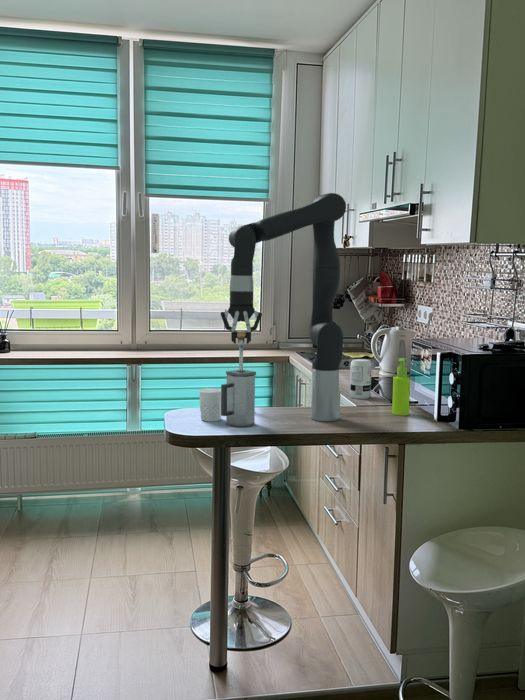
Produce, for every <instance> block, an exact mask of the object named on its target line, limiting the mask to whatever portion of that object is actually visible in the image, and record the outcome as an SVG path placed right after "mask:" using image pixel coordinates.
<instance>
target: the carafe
mask: <svg viewBox="0 0 525 700" xmlns="http://www.w3.org/2000/svg"><path fill="white" fill-rule="evenodd" d="M225 375H226V383H224V384H221V387H220V389H221V417H225V418H226V422H225V423H226V426H227V427H230V428H238V429H239V428H241V429H243V428H250V427H254V426H255V417H256V416H255V414H256V410H255V406H256V404H255V403H256V401H255V400H256V399H255V396H256V395H255V394H256V376H257V371H253V370H248V369H243V372H239V369H234V370H227V371H225Z"/></svg>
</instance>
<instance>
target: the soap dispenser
mask: <svg viewBox="0 0 525 700" xmlns="http://www.w3.org/2000/svg"><path fill="white" fill-rule="evenodd" d="M406 360H407V359H406V357H400V358H398V360H397V362H398V363H399V366H397V369H396V372H397V373H396V376H393V378H392V399H391V400H392V401H391V402H392V403H391V404H392V405H391V414H392V413H393V414H392V415H394V414H395V416H403V417H404V416H408V415H409V414H410V393H411V391H410V389H411V377H410V376H408V374H407V373H408V367H406V366H405V365H406Z"/></svg>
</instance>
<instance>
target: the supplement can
mask: <svg viewBox="0 0 525 700" xmlns="http://www.w3.org/2000/svg"><path fill="white" fill-rule="evenodd" d="M372 366H373V365H372V362H371V360H370V359H366V358H352V360H351V362H350V372H349V373H350V374H349V375H350V376H349V377H350V378H349V397H350V398H352V399H355V400H356V399H357V400H367V399H369V398H370V397H371V395H372V394H371V393H372V392H371V391H372V389H371V388H372Z"/></svg>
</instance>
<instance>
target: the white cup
mask: <svg viewBox="0 0 525 700" xmlns="http://www.w3.org/2000/svg"><path fill="white" fill-rule="evenodd" d="M198 392H199V393H198V394H199V411H200V420H201V421H203V420H204V421H203V422H210V421H211V422H218V420H219V421H221V420H220V419H222V416H221V388H215V387H214V388H212V387H211V388H210V387H206V388H201V389H199V390H198Z"/></svg>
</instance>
